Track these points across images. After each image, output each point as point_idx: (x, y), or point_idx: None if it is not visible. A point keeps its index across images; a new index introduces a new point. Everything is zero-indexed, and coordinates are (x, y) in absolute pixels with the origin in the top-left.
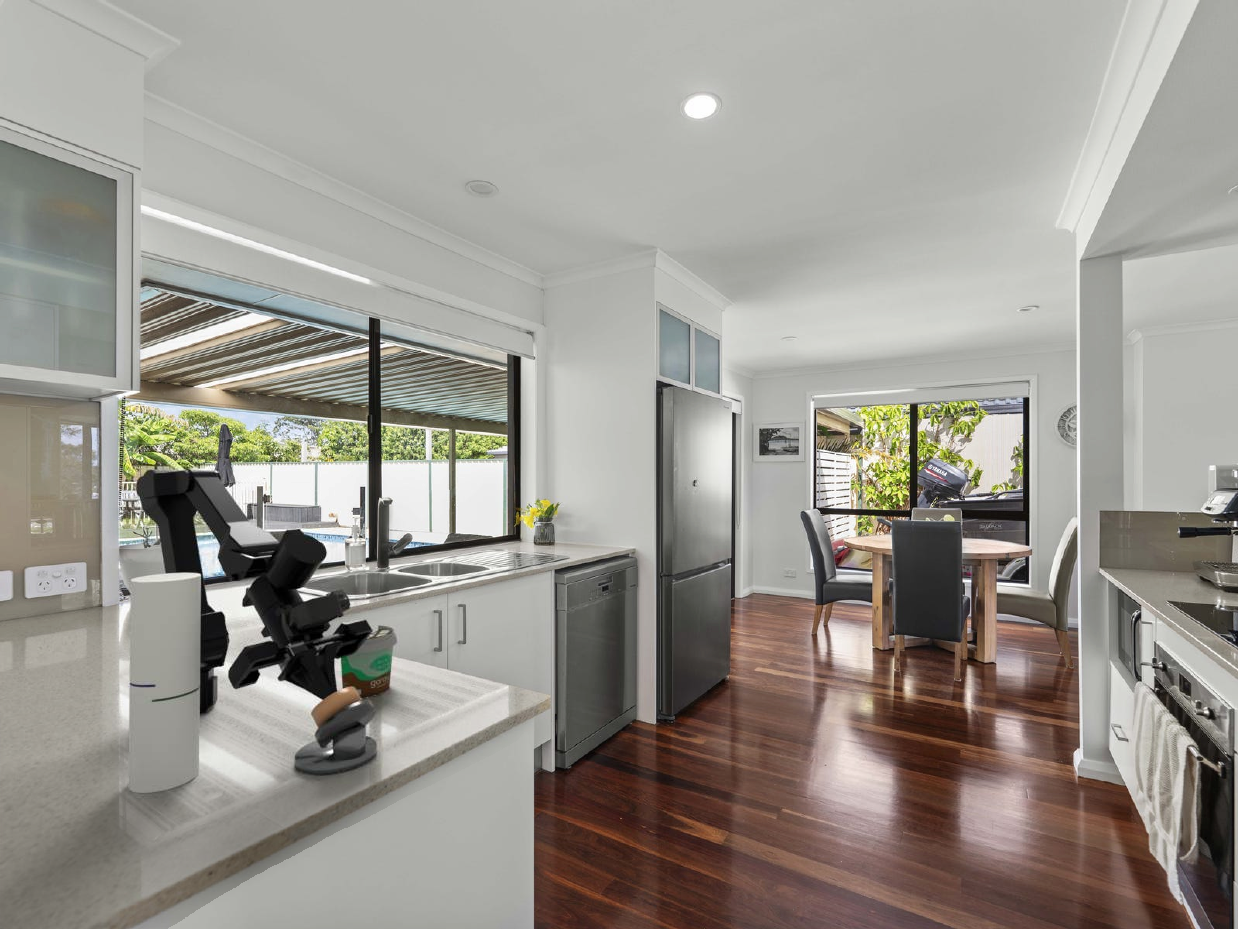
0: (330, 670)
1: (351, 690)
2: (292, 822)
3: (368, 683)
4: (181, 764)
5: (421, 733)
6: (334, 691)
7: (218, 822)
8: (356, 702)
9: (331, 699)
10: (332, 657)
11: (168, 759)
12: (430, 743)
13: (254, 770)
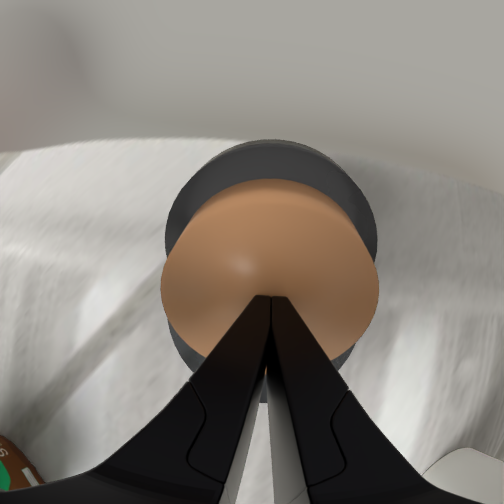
0: (209, 411)
1: (243, 195)
2: (446, 178)
3: (5, 460)
4: (476, 459)
5: (94, 223)
6: (262, 311)
7: (495, 275)
8: (284, 146)
9: (352, 227)
10: (110, 483)
11: (498, 460)
12: (130, 172)
13: (386, 413)
